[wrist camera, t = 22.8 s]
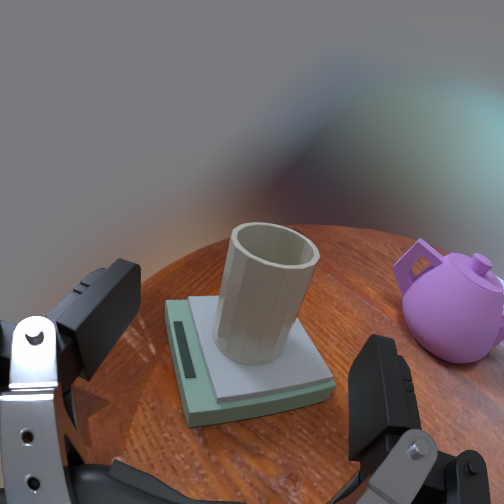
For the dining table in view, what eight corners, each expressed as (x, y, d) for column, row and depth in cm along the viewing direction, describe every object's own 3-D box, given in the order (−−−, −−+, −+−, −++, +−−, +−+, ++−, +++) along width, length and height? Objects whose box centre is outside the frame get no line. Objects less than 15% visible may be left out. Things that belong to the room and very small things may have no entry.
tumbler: (222, 369, 22) (247, 268, 17) (205, 314, 26) (222, 220, 22) (294, 359, 24) (335, 267, 19) (268, 311, 29) (296, 224, 24)
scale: (187, 427, 20) (190, 407, 18) (164, 318, 29) (166, 293, 28) (325, 400, 24) (340, 379, 23) (275, 312, 34) (283, 289, 32)
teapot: (362, 323, 35) (405, 235, 29) (388, 276, 47) (418, 209, 41) (498, 397, 26) (556, 324, 20) (493, 334, 37) (531, 274, 32)
